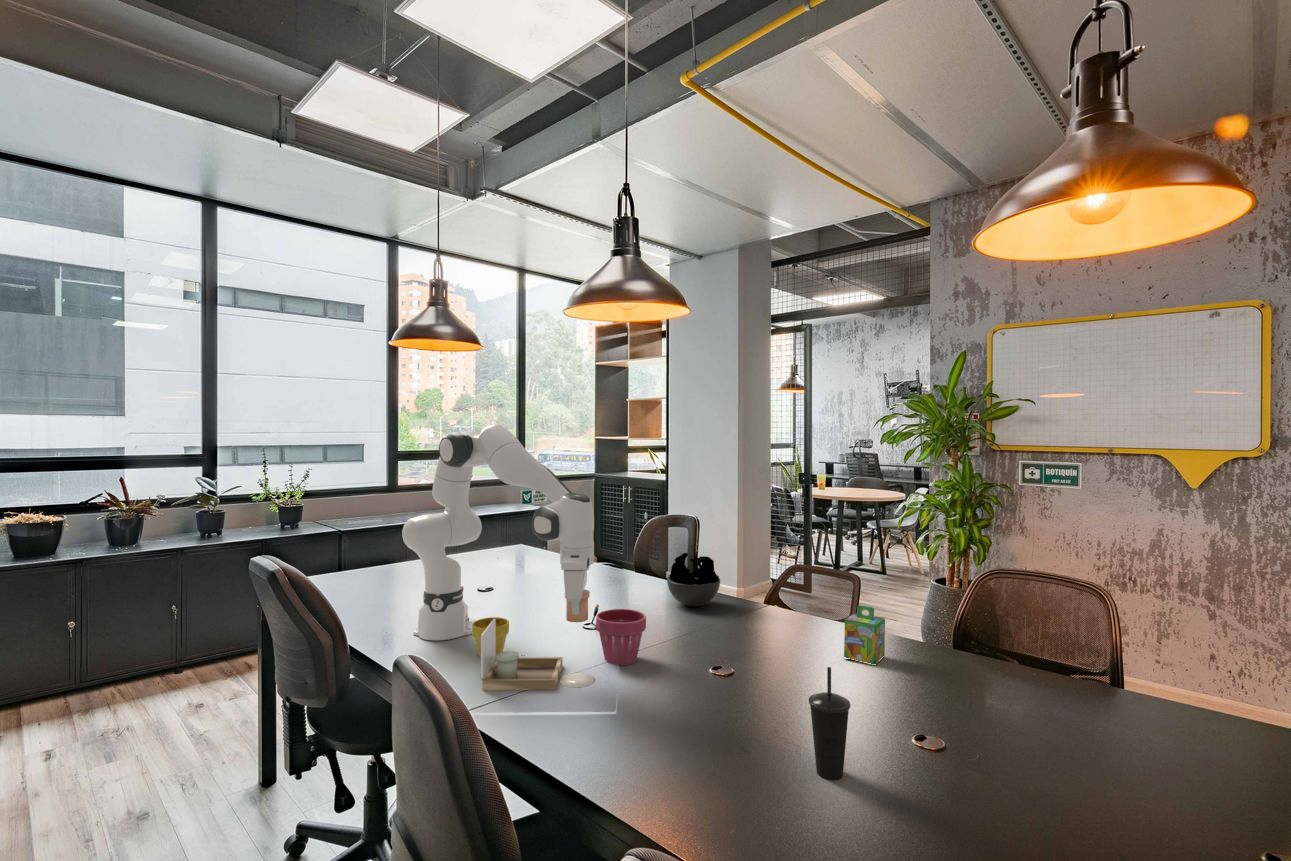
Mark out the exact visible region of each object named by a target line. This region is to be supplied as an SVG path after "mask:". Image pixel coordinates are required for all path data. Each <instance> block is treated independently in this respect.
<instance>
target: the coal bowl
mask: <svg viewBox="0 0 1291 861" xmlns="http://www.w3.org/2000/svg"><path fill="white" fill-rule="evenodd" d="M688 556H689V553H688V552H684V553H682V554H680V555H679V556H677V557H675V558H674V562H673V563H672V565H671V567H670V568H671V569H670V573H669V576H668V577H667V578H666V583H667V586H668V590H669V592H670V593H671V595H672V596H673V598H674V599H675V600H676V601H677V602H679V603H680V604H682V605H685V606H686V607H702V606H704V605H706V604H708V603H709V602H711V601H712V600H713V599H714V598H715V597H716V596H717V594H718V592H719V589H720V586H721V578H720V576H719V575H717V573H716V571H715V561H714V559H713V558H711V557H710V556H706V555H704V556H702V555H701V556H698V557H697V556H695V557H694V558H690V559H689V561H690V562H692V563H693V564H694V565H697V568H696V570H694V571H693V572H690V569H689V568H688V567H687V566H686V559H687V557H688Z"/></svg>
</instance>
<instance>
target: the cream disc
mask: <svg viewBox="0 0 1291 861" xmlns="http://www.w3.org/2000/svg"><path fill="white" fill-rule="evenodd" d="M594 682H595V677H594V675H592V674H589V673H586V672H574V673H573V672H572V673H568V674H564V675H563V676H561V677H559V683H560V685H561V686H563V687H567V688H575V689H576V688H584V687H587V686H590V685H592V684H593V683H594Z"/></svg>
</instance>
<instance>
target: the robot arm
mask: <svg viewBox="0 0 1291 861" xmlns="http://www.w3.org/2000/svg"><path fill="white" fill-rule="evenodd" d="M442 436H443V437H442V438H441V440H440V441H439V444H438V454H439V457H438V460H437V464H436V468H435V473H434V477H433V478H434V479H433V484H432V490H431V494H432V498H433V500H434V501H435V502H436V503H437V504H439V505H440V506H442V507H444V511H443V512H439V513H430V514H422V515H418V516H415V517H412V518H409V519H407V520H406V522H405V523H404V524H403V527H402V530H401V535H402V539H403V543H404V544H405V545H406V547H407V548H408V549H410V550H412V551H413V552H414V553H415V554H416V555H417V556H418V557H419V559H420V561H421V562H422V565H423V566H422V567H423V571H424V590H423V594H422V595H423V596H422V597H423V598H422V599H423V601H422V602H423V605H422V606H421V607H419V610H418V622H417V628H416V629H415V630H413V633H412V634H413V635H414V636H417V637H419V638H420V639H423V640H424V641H445V640H446V641H448V640H453V639H457V638H461V637H463V636H470V635H473V634H472V624H473V623H474V622H475V621H476V619H475V618H474V617H471V616H470V617H469V606H468V605H467V604H466V602H465V601H464V588H465V587H464V586H463V585H462V566H461V565H460V562H458V561H457V560H456V559H455V558H451V557H449V556H447V555H446V554H447V553H446V548H447V547H456V546H463V545H466V544H470V543H471V542H474V541H477V539H478V538H479V537H480V536H481V533H482V529H483V528H482V521H481V519H480V517H479V516H478V515H477V513H476V512H474V511H473V509H471V506H470V503H469V497H470V495H469V494H470V487H471V482H472V477H473V470H474V467H480V466H486V465H488V467H489V468H490V470H491V471H492V472H493V474H494V475H495V476H496V478H498V479H499V480H500V481H502V482H503V483H504V484H507V485H510V486H516V487H523V488H527V489H531V490H535V491H537V492H540V493H541V494H543V495H544V496H545V497H546V498H547V499H548V500H549V502H550V503H549V504H546V505H543V506H540V507H538V508H537V509H536V510H535V511H534V513H533V515H532V516H533V517H532V520H531V521H532V522H531V525H532V531H533V533H534V535H535V536H536V537H537V538H538V539H539V540H540V541H545V542H552V541H553V542H554V541H558V542H559V564H560V569H561V570H562V571H563V584H564V597H565V596H566V598H565V600H567V601H571V605H572V614H579V609H580V606H579V602H580V600H581V598H582V595H583V592H584V589H585V588H586V585H587V582H588V581H587V580H588V571H589V570H590V566H592V565H594V563H595V542H594V538H593V534H594V530H595V512H594V506H593V505H594V504H593V501H592V500H591V497H589V496H588V495H585V494H583V493H575V492H574V493H573V492H572V491H571V490H570V489H569V488H568V487H567V486H566V485H565V483H563V482H562V481H561V480H560V478H559V477H558V476H557V475H556V474H555V473H554V472H553V471H551V470H550V469H549V468H548V466H546V465H544V464H543V463H541V462H540V460H539V461H538V460H537V459H536V458H535V457H534V456H532V454H531V453H530V452H529V451H528V450H527V449H526V448H525V447H524V446H523V444H522V443H521V442H520V440H519V439H518V438H517V437H516V436H515V435H514V434H513V433H512V432H511V431H510V430H509V429H507V427H505V426H503V424H502V425H501V424H497V423H496V424H490V425H488V426H486V427H484V428H483V429H471V430H463V431H452V432H449V433H446V434H445V435H442ZM585 590H586V589H585Z"/></svg>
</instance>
